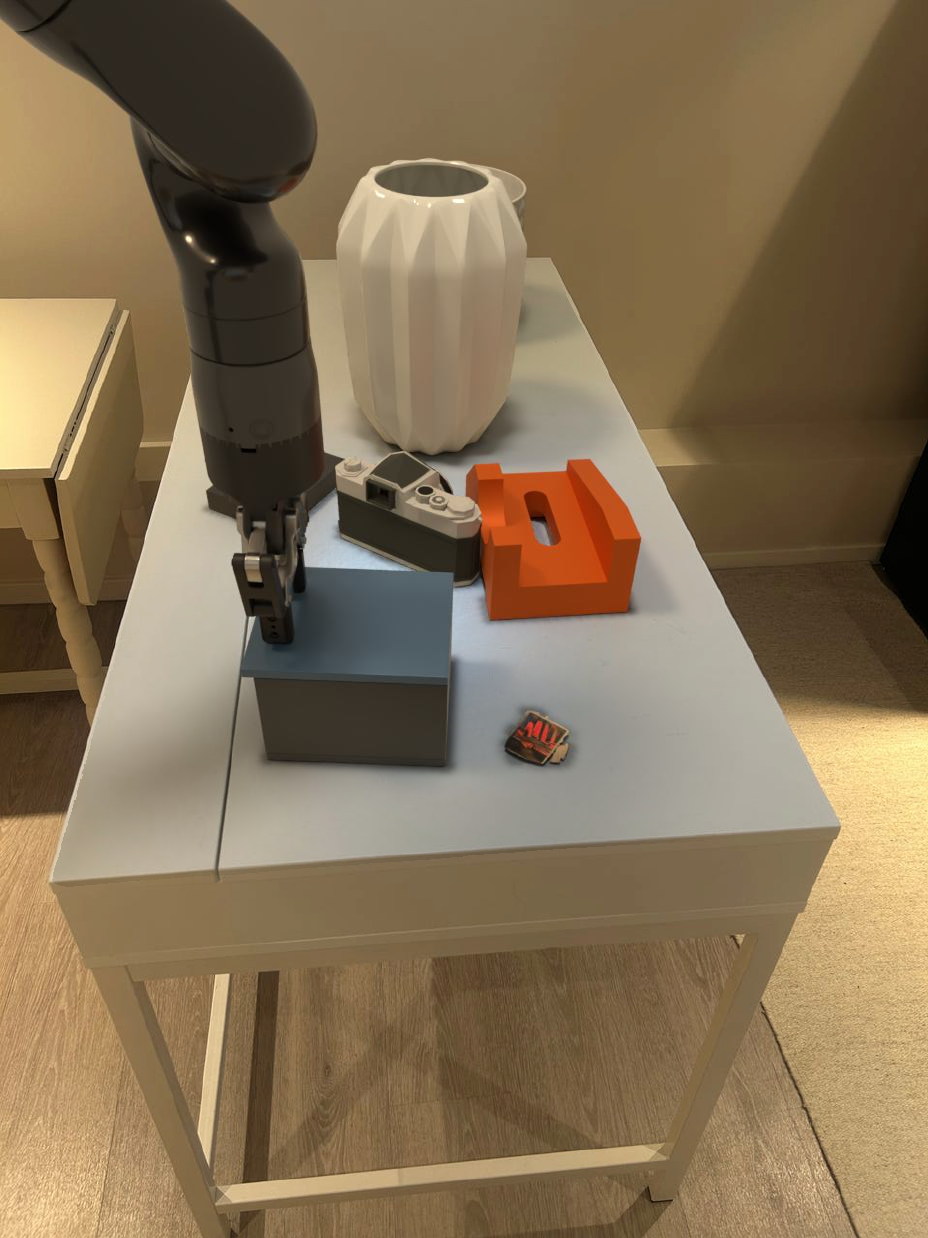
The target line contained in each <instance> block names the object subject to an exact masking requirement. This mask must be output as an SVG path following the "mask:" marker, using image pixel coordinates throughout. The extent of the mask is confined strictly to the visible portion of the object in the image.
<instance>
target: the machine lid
mask: <svg viewBox="0 0 928 1238" xmlns="http://www.w3.org/2000/svg"><path fill="white" fill-rule="evenodd" d="M275 559H276V560H286V554H281V555H275ZM298 559H299V554H298V552H297V563H298ZM295 571H296V570H295ZM295 571H294V573H293V575H292V576H290V591H291V595H292V602H291V607H292V615H293V623H294V631H295V635H294V639H293V642H292V643H291V644H270V643H266V642H264V641H263V639H262V634H261V627H260V621H259V616H254V621H253V625H252V627H251V631H250V634H249V637H248V641H247V645H246V649H245V652H244V655H243V659H242V661H241V662H242V663H241V666H240V675H241V678H252V679H253V678H275V679H301V680H327V681H353V682H378V683H404V684H430V685H448V671H449V653H450V635H451V616H452V617H453V613H452V598H453V599H454V586H453V579H454V573H449V572H424V571H417V570H395V569H394V570H393V569H369V568H343V567H318V566H317V567H316V566H305V571H306V581H307V584H306V588H305V591H304V592H302V593H295V586H294V575H295Z"/></svg>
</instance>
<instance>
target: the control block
mask: <svg viewBox="0 0 928 1238" xmlns="http://www.w3.org/2000/svg"><path fill="white" fill-rule="evenodd" d="M324 456H325V469H324V472H323V474H322V476H321V478H320V479H319V481H318V482H317V483H316V484H315V485H314V486H313V487H311V488H310V489H309V490H307V501H308V512H309V511H310V510H311V509H312V508H314V507H315V506H316V505H317V504H318V503H320V501H321V500H322V499H324V498H325V497H326V496H327V495H328V494H329V493H330V492H332V491H333V490H334V489H336V486H335V481H336V469H335V466H336V465H338V464H339V463H341V462H342V461H343V460H345V459H346V458H344V457H340V456H338V455H334V454H331V453H328V452H325V451H324ZM205 494H206V499H207V504H208V505H207V506H208V508H209V510H212V511H215V512H218V513H221V514H224V515H226V516H229V517H232V518H235V519H237V518H236V513H237V507H238V506H242V505H241V504H240V503H238V502H237V501H236V500H234V499H233V498H231V497H229V496H227V495H225V494H223V493H222V492H220V491H219V490H218V489H217V488H216V487H215V486H214V485H213V484H212V485H211V486H210V487H208V488H207V489H206V490H205Z"/></svg>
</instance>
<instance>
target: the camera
mask: <svg viewBox="0 0 928 1238" xmlns="http://www.w3.org/2000/svg"><path fill="white" fill-rule="evenodd" d="M344 459H345V460H343V461H342V462H341V463H339V464H338V465H336V466H335V469H336V481H335V486H336V487H335V491H336V492H335V493H336V496H337V511H338V520H337V524H338V530H339V533H340V538H341V539H344V540H346V541H348V542H350V543H352V544H355V545H357V546H359V547H362V548H364V549H366V550H369V551H371V552H373V553H376V554H378V555H380V556H383V557H385V558H388V559H390V560H392V561H395V562H397V563H398V564H401V565H403V566H405V567H408V568H410V569H413V570H414V571H424V572H449V573H454V579H453V588H457V587H464V586H470V585H472V584H473V583H474V582H475V581H476V579H478V578H479V576H480V570H481V563H480V540H481V527H482V522H483V519H482V518H481V511H480V509H479V507H478V505H477V504H475V502H474V501H473V500H471V499H470V498H469V497H465V496H464V495H454V489H453V487H452V485H451V483H450V481H449V480H448V478H447V477H446V476H445V475H444V473H442V472H441V471H440V470H439V469H436V468H435V467H433V466H432V465H429V464H427V463H425V461H423V460H421V459H419V458H418V457H416V456H414V455H413V454H411V452H407V451H403V450H402V451H395V452H389V453H388V454H387V455H386V456H384V457H383V458H382V459H381V460H380V461H378V462H377V463H376V464H374V463H371V462H368V461H366V460H363V459H361V458H360V457H358V458H357V457H356V456H349V457H346V458H344Z"/></svg>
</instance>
